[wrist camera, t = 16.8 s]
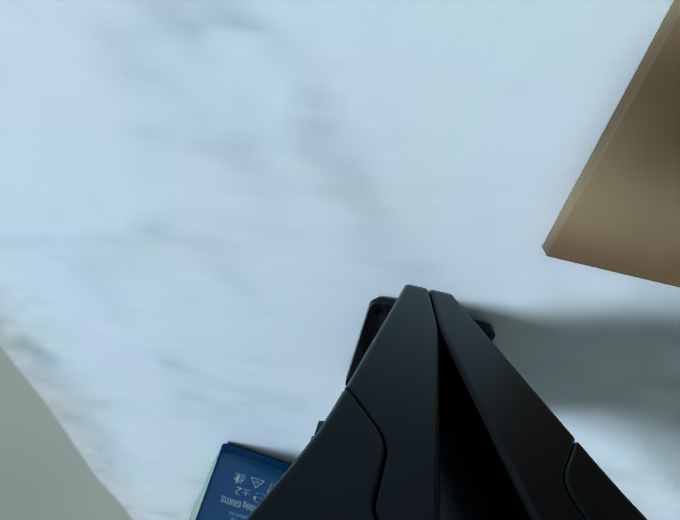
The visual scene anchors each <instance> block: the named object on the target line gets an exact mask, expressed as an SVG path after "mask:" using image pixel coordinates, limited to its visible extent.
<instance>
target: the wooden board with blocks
mask: <svg viewBox="0 0 680 520" xmlns="http://www.w3.org/2000/svg"><path fill="white" fill-rule="evenodd" d="M542 247H543V249H544V251H545V253H546V255H547V256H549V257H554V258H558V259H562V260H566V261H570V262H575V263H579V264H583V265H587V266H592V267H596V268H600V269H604V270H609V271H613V272H617V273H621V274H625V275H630V276H634V277H638V278H642V279H647V280H651V281H655V282H659V283H664V284H668V285H672V286H676V287H680V0H674V2H673V4H672V5H671V7H670V9H669V11H668V13H667V15H666V17H665V18H664V20H663V22H662V24H661V26H660V28H659V30H658V32H657V33H656V35H655V37H654V39H653V41H652V43H651V45H650V46H649V48H648V50H647V52H646V54H645V56H644V58H643V59H642V61H641V63H640V65H639V67H638V69H637V71H636V73H635V74H634V76H633V78H632V80H631V82H630V84H629V86H628V87H627V89H626V91H625V93H624V95H623V97H622V99H621V100H620V102H619V104H618V106H617V108H616V110H615V112H614V114H613V115H612V117H611V119H610V121H609V123H608V125H607V127H606V128H605V130H604V132H603V134H602V136H601V138H600V140H599V141H598V143H597V145H596V147H595V149H594V151H593V153H592V155H591V156H590V158H589V160H588V162H587V164H586V166H585V168H584V169H583V171H582V173H581V175H580V177H579V179H578V181H577V182H576V184H575V186H574V188H573V190H572V192H571V194H570V196H569V197H568V199H567V201H566V203H565V205H564V207H563V209H562V210H561V212H560V214H559V216H558V218H557V220H556V222H555V224H554V225H553V227H552V229H551V231H550V233H549V235H548V237H547V238H546V240H545V242H544V244H543V246H542Z"/></svg>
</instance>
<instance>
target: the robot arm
mask: <svg viewBox="0 0 680 520" xmlns="http://www.w3.org/2000/svg"><path fill="white" fill-rule="evenodd" d="M376 307H381V308H383V309H382V310H377V309H375V308H376ZM484 332H487V333H486V334H485V333H484ZM494 337H495V333H494V329H493V326H492V325H491V324H488V323H485V322H481V321H476V320H473V319H472V318H471V317H470V316H469V314H468V313H467V312H466V311H465V310H464V309H463V307H462V306H461V305H460V304H459V303H458V302H457V300H456V299H455V298H454V297H453V296H452V295H451V294H448V293H444V292H439V291H435V290H430V291H429V292H428V290H427V289H426V288H422V287H418V286H413V285H406V286H405V287H404V289H403V290H402V292H401V294H400V296H399V297H398V299H397V301H396V302H394V301H390V300H386V299H381V298H377V299H374V300H372V301H371V302H370V304H369V307H368V310H367V313H366V316H365V320H364V323H363V326H362V329H361V332H360V335H359V339H358V342H357V345H356V348H355V351H354V354H353V358H352V361H351V364H350V367H349V370H348V373H347V377H346V388H345V390H344V391H343V392H342V394H341V396H340V397H339V399H338V401H337V403H336V404H335V406H334V408H333V409H332V411H331V412H330V414H329V415H328V417H327V418H326V420H325V421H319V423H318V426H317V429H316V432H315V435H314V436H312V438H311V441H310V442H309V444H308V445H307V446H306V448H305V449H304V450H303V451H302V453H301V454H300V455H299V457H298V458H297V459H296V460H295V461H294V463H293V464H292V465H291V466H290V467H289V469H288V470H287V471H286V472H285V473H284V475H283V476H282V477H281V478H280V479H279V480H278V482H277V483H276V484H275V485H274V486H273V488H272V489H271V490H270V491H269V492H268V494H267V495H266V496H265V497H264V498H263V499H262V501H261V502H260V503H259V504H258V505H257V507H256V508H255V509H254V510H253V511H252V513H251V514H250V515H249V516H248V517H247V518H246V520H647V519H646V518H645V517H644V515H643V514H642V513H641V512H640V511H639V510H638V509H637V508H636V507H635V506H634V505H633V504H632V503H631V502H630V501H629V500H628V499H627V498H626V496H625V495H624V494H623V493H622V492H621V491H620V490H619V489H618V487H617V486H616V485H615V484H614V483H613V482H612V481H611V480H610V478H609V477H608V476H607V475H606V474H605V473H604V472H603V471H602V469H601V468H600V467H599V466H598V465H597V464H596V463H595V461H594V460H593V459H592V458H591V457H590V456H589V454H588V453H587V452H586V451H585V450H584V449H583V447H582V446H581V445H580V444H579V443H577V442H575V443H574V441H575V439H574V437H573V436H572V435H571V434H570V432H569V431H568V430H567V429H566V428H565V427H564V425H563V424H562V423H561V422H560V421H559V420H558V418H557V417H556V416H555V415H554V414H553V413H552V411H551V410H550V409H549V408H548V407H547V406H546V404H545V403H544V402H543V401H542V400H541V399H540V397H539V396H538V395H537V394H536V393H535V392H534V390H533V389H532V388H531V387H530V386H529V385H528V383H527V382H526V381H525V380H524V379H523V378H522V376H521V375H520V374H519V373H518V372H517V371H516V369H515V368H514V367H513V366H512V365H511V364H510V362H509V361H508V360H507V359H506V358H505V356H504V355H503V354H502V353H501V352H500V351H499V349H498V348H497V347H496V346H495V345H494V344H493V342H492V341H493V339H494Z"/></svg>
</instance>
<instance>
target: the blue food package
mask: <svg viewBox="0 0 680 520" xmlns="http://www.w3.org/2000/svg"><path fill="white" fill-rule="evenodd" d="M290 466H291V465H290V464H287V463H284V462H281V461H278V460H275V459H272V458H269V457H266V456H263V455H260V454H257V453H254V452H251V451H248V450H245V449H242V448H239V447H236V446H232V445H229V444H223V445H222V447H221V449H220V451H219V454H218V455H217V457H216V459H215V461H214V463H213V465H212V467H211V470H210V472H209V474H208V477H207V479H206V482H205V484H204V486H203V489H202V491H201V493H200V495H199V497H198V499H197V501H196V503H195V506H194V508H193V511H192V513H191V516H190V519H189V520H246V518H247V517H248V516H249V515H250V514H251V513H252V511H253V510H254V509H255V508H256V507H257V505H258V504H259V503H260V502H261V501H262V499H263V498H264V497H265V496H266V495H267V494H268V492H269V491H270V490H271V489H272V488H273V486H274V485H275V484H276V483H277V482H278V480H279V479H280V478H281V477H282V476H283V475H284V473H285V472H286V471H287V470H288V469H289V467H290Z"/></svg>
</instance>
